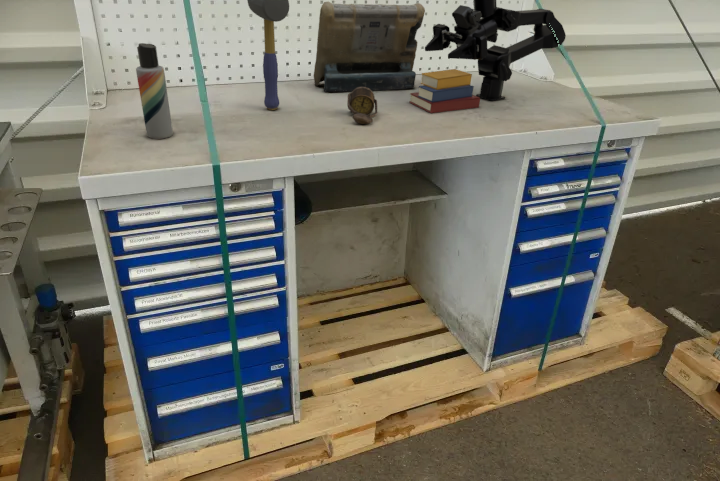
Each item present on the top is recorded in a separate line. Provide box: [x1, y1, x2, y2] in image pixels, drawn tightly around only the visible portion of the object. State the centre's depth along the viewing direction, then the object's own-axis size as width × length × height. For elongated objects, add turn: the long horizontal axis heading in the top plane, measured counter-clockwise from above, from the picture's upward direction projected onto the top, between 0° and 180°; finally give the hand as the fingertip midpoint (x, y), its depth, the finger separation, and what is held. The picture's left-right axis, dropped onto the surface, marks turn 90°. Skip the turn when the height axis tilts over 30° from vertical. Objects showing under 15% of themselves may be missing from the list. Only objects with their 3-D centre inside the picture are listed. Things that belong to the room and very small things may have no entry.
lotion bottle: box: [135, 42, 174, 140], centre depth 116 cm, size 6×6×20 cm
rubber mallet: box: [247, 0, 290, 111], centre depth 134 cm, size 12×8×30 cm, turn 28°
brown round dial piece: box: [346, 87, 378, 125], centre depth 137 cm, size 7×13×10 cm
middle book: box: [418, 84, 475, 103], centre depth 150 cm, size 15×6×3 cm, turn 123°
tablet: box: [313, 1, 426, 93], centre depth 160 cm, size 33×14×25 cm, turn 114°
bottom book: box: [409, 91, 481, 114], centre depth 152 cm, size 17×11×3 cm, turn 118°
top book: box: [420, 68, 473, 90], centre depth 150 cm, size 13×7×3 cm, turn 125°
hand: (436, 52), depth 142 cm, fingers open, 9 cm apart
